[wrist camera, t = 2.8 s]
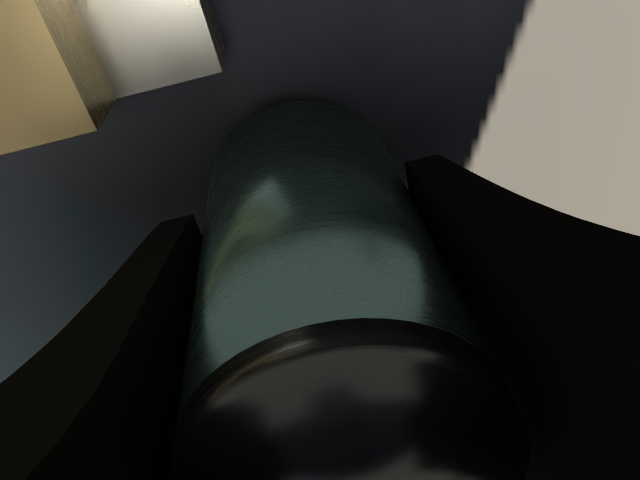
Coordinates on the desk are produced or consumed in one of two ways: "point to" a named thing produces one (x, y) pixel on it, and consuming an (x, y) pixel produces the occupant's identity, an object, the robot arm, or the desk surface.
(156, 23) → the lower end link
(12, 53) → the upper end link
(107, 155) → the desk surface
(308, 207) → the teal cylinder
